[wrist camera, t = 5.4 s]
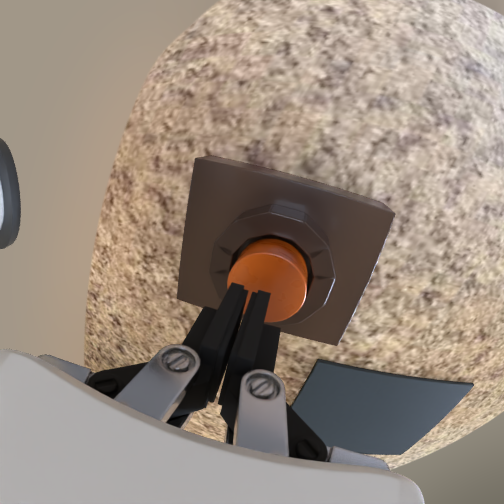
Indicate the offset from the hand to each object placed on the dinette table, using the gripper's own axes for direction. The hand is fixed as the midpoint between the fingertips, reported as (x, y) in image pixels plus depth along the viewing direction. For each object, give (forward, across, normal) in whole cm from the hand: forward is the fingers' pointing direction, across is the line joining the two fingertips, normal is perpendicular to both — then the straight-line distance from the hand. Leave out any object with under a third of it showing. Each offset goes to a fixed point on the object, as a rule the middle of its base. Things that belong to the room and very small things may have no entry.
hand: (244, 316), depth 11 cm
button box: (+8, -1, 0) cm, 9 cm away
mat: (+8, -17, +17) cm, 25 cm away
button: (+5, -1, 0) cm, 5 cm away
